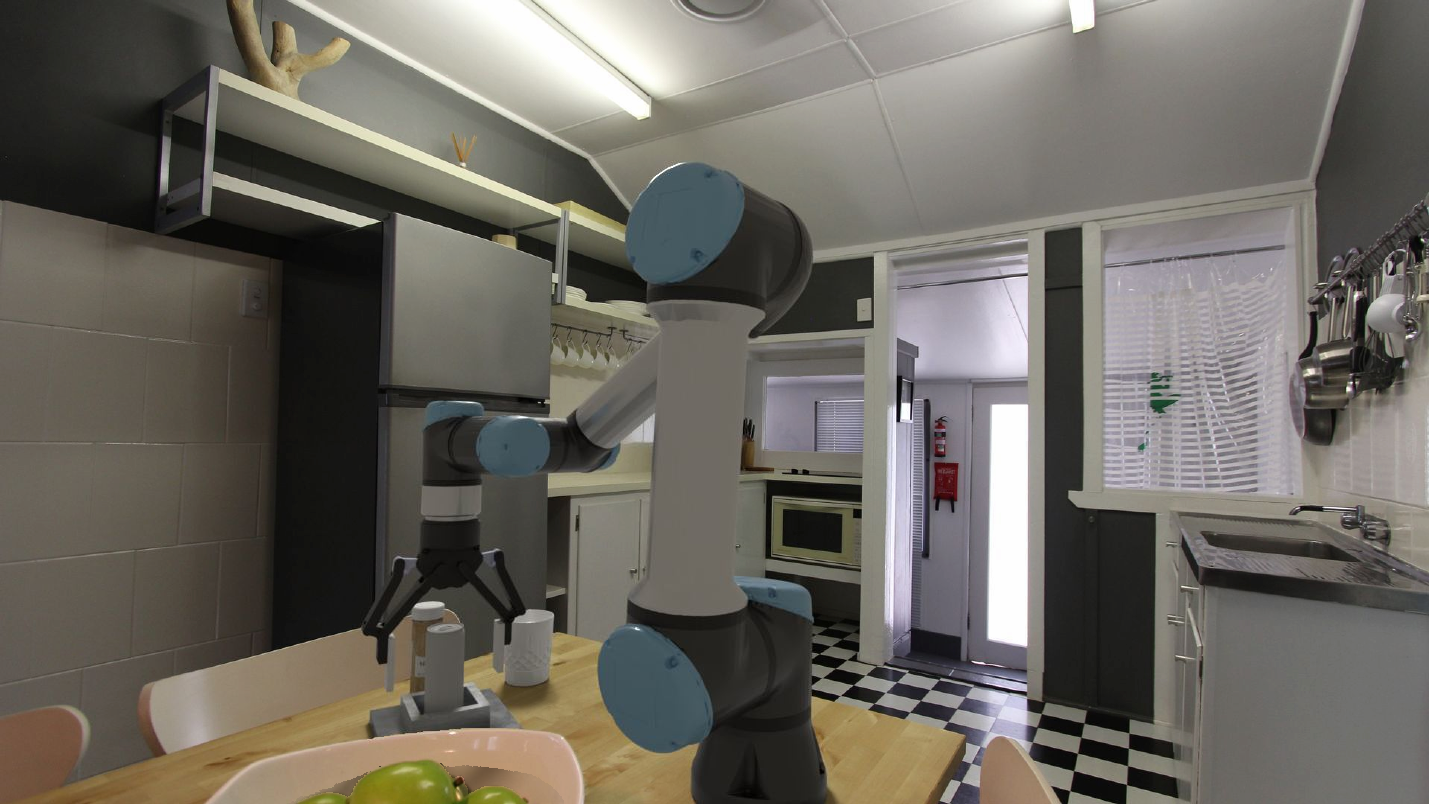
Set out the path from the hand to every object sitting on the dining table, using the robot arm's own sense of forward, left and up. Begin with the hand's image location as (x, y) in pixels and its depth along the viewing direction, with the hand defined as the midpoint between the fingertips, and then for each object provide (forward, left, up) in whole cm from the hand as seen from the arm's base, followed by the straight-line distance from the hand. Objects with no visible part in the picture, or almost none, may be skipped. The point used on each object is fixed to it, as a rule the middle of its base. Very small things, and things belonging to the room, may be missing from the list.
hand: (445, 679), depth 88 cm
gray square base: (0, 0, -7) cm, 7 cm away
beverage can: (0, 0, -5) cm, 5 cm away
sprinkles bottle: (+14, 0, -7) cm, 16 cm away
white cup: (+13, -15, -7) cm, 21 cm away
